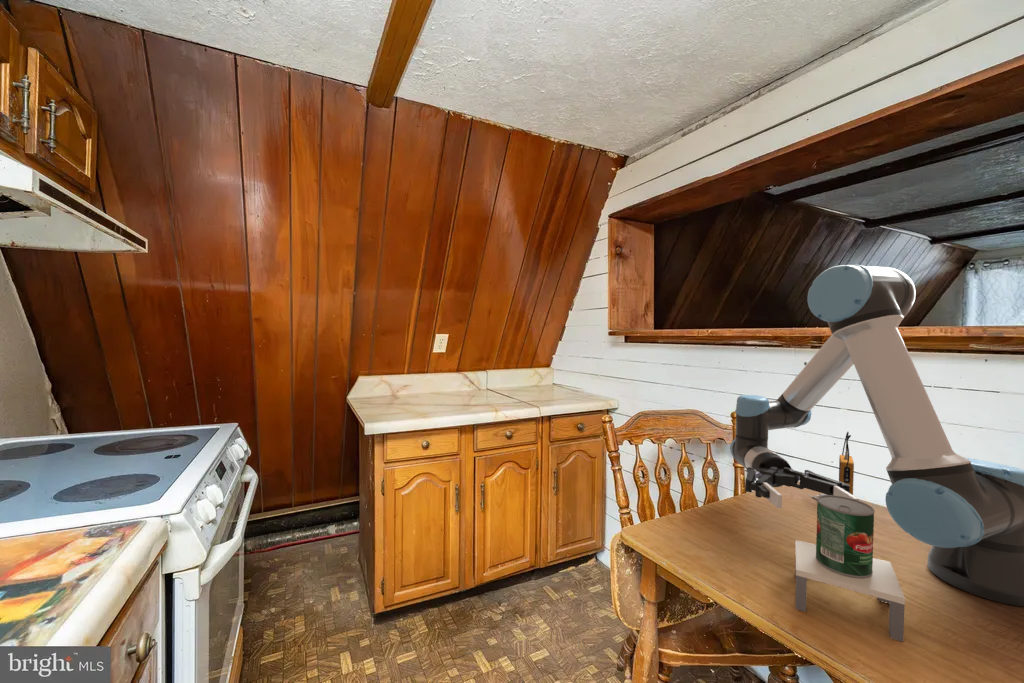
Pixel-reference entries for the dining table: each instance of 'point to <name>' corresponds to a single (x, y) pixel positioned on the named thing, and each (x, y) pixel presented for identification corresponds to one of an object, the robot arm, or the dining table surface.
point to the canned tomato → (845, 536)
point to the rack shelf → (852, 584)
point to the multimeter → (845, 467)
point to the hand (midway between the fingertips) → (817, 503)
